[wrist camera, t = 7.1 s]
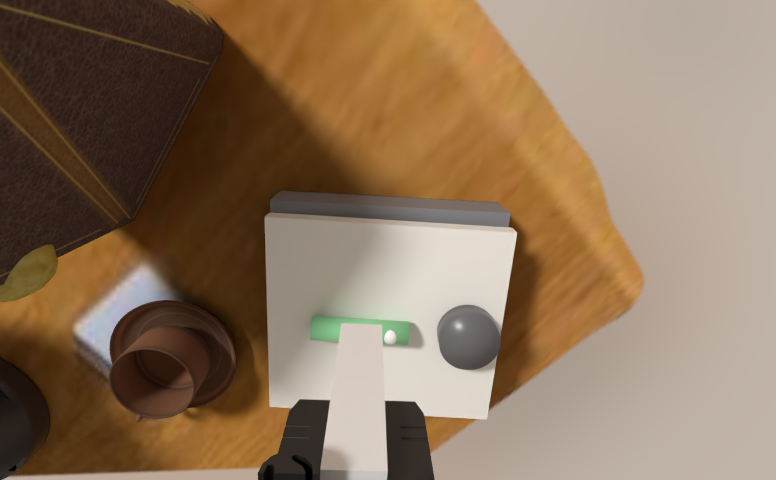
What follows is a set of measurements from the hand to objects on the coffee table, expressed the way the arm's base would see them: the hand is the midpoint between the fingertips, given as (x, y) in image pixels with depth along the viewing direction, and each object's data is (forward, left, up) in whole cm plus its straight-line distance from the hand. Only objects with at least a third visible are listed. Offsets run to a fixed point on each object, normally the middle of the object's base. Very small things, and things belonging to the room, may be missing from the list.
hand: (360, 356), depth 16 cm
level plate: (+2, -9, -20) cm, 22 cm away
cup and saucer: (-18, -16, -25) cm, 35 cm away
